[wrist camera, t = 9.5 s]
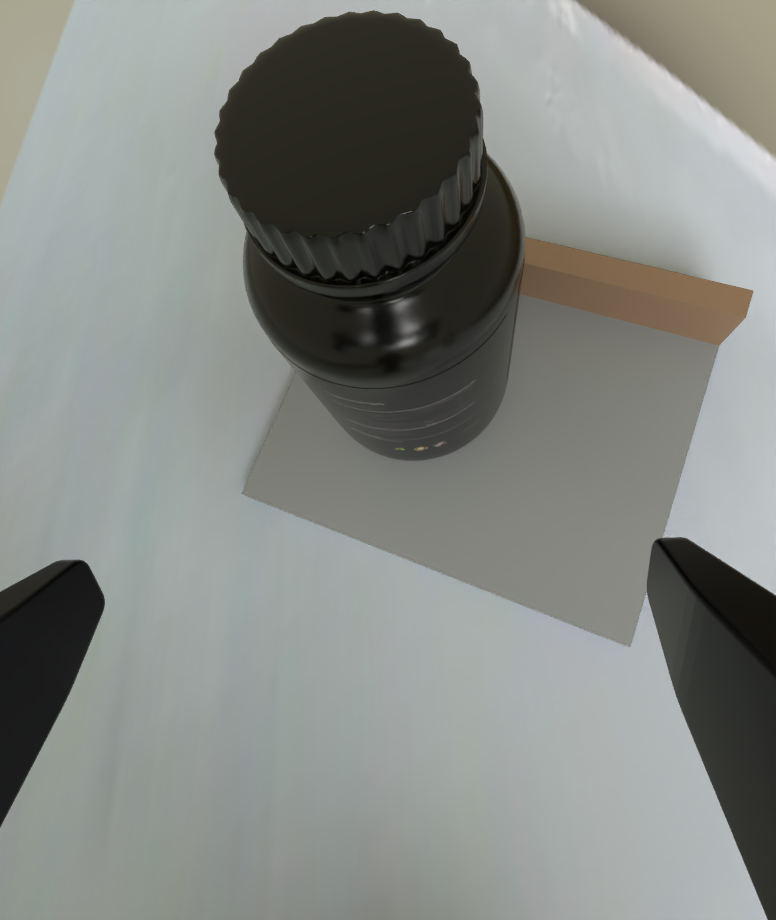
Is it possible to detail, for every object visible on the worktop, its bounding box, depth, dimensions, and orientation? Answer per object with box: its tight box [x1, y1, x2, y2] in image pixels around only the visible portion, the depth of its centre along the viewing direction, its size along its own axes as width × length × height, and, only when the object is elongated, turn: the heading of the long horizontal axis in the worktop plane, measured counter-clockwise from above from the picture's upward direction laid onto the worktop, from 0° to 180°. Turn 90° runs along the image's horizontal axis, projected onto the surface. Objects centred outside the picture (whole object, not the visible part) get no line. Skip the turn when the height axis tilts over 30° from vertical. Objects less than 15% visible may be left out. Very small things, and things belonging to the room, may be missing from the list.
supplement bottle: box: [214, 11, 525, 461], centre depth 15 cm, size 7×7×12 cm
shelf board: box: [242, 237, 753, 647], centre depth 20 cm, size 12×14×3 cm
